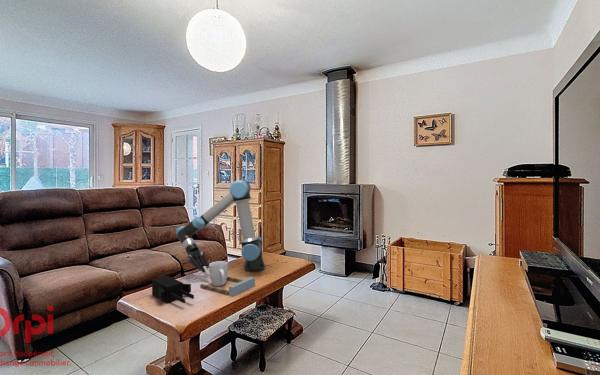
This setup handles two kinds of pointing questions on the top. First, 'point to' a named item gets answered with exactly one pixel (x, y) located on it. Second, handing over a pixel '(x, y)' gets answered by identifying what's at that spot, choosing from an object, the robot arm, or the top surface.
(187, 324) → the top surface
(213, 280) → the mug
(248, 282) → the stop
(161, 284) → the black power adapter
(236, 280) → the channel
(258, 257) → the robot arm
